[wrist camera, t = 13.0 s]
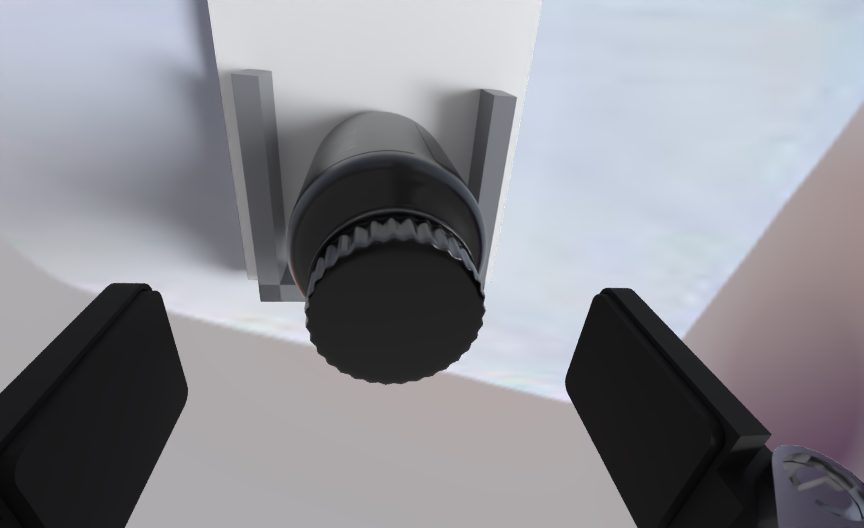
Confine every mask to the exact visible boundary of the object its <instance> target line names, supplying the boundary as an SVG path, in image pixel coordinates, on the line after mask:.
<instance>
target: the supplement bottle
mask: <svg viewBox="0 0 864 528" xmlns="http://www.w3.org/2000/svg"><path fill="white" fill-rule="evenodd" d="M486 253H487V232H486V226H485V221H484V218H483V215H482V212H481V210H480V208H479V206H478V203H477V202H476V199H475V198H474V196H473V194H472V193H471V191H470V189H469V188H468V186H467V185H466V183H465V182H464V180H463V179H462V177H461V176H460V175H459V173H458V172H457V170H456V169H455V167H454V166H453V164H452V163H451V161H450V160H449V158H448V157H447V155H446V154H445V152H444V151H443V149H442V148H441V146H440V145H439V144H438V142H437V141H436V140H435V138H434V137H433V136H432V135H431V134H430V133H429V132H428V131H427V130H426V129H425V128H424V127H422V126H421V125H420V124H418V123H417V122H415V121H413V120H412V119H410V118H407V117H405V116H403V115H400V114H396V113H392V112H384V111H374V112H366V113H362V114H358V115H355V116H353V117H350V118H348V119H346V120H344V121H343V122H341V123H340V124H338V125H337V126H336V127H335V128H333V129H332V130H331V131H330V132H329V133H328V134H327V135H326V137H325V138H324V139H323V141H322V142H321V144H320V146H319V147H318V149H317V151H316V154H315V156H314V158H313V160H312V163H311V165H310V168H309V170H308V173H307V176H306V178H305V181H304V183H303V186H302V188H301V191H300V193H299V196H298V198H297V201H296V204H295V206H294V209H293V212H292V215H291V218H290V221H289V226H288V231H287V238H286V254H287V261H288V265H289V269H290V273H291V275H292V278H293V280H294V282H295V284H296V286H297V288H298V290H299V291H300V293H301V294H302V296H303V297H304V298H305V300H306V303H305V314H306V316H307V317H306V323H305V324H306V328H307V329H308V331H309V332H310V341H311V342H312V343H313V344H314V345H315V346H316V347H317V352H318V353H319V354H320V355H321V356H323V357H325V358H326V361H327V363H328V364H330V365H332V366H335V367H337V369H338V370H339V371H340V372H341V373H345V374H349V375H351V376H352V377H353V378H355V379H364V380H366V381H367V382H369V383H376V382H379V383H382V384H385V385H386V384H392V383H397V384H403V383H406V382H408V381H418V380H420V379H422V378H424V377H430V376H433V375H434V374H435V373H437V372H438V371H442V370H445V369H447V368H448V367H449V365H450V364H452V363H454V362H456V361H458V360H459V359H460V357H461V355H462V354H463V353H465V352H467V351H468V350H469V348H470V346H471V343H472V342H473V341H475V340H476V339H477V336H478V331H479V329H480V328H481V327H482V325H483V321H482V317H483V315H484V313H485V306H484V299H485V294H484V291H483V289H482V287H481V280H480V276H481V273H482V271H483V268H484V264H485V260H486Z"/></svg>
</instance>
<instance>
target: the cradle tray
mask: <svg viewBox="0 0 864 528" xmlns="http://www.w3.org/2000/svg"><path fill="white" fill-rule="evenodd" d="M207 1H208V8H209V14H210V21H211V28H212V35H213V42H214V49H215V56H216V63H217V70H218V76H219V83H220V90H221V97H222V104H223V111H224V118H225V125H226V132H227V138H228V145H229V152H230V159H231V166H232V173H233V180H234V187H235V194H236V200H237V207H238V214H239V221H240V228H241V235H242V242H243V249H244V256H245V262H246V269H247V276H248V280H258V284H259V292H260V300H261V302H306V300H305V298H304V297H303V296H302V294H301V293H300V291H299V290H298V288H297V286H296V284H295V282H294V280H293V278H292V275H291V273H290V269H289V265H288V261H287V254H286V238H287V231H288V226H289V221H290V218H291V215H292V212H293V209H294V206H295V204H296V201H297V198H298V196H299V193H300V191H301V188H302V186H303V183H304V181H305V178H306V176H307V173H308V170H309V168H310V165H311V163H312V160H313V158H314V156H315V154H316V151H317V149H318V147H319V146H320V144H321V142H322V141H323V139H324V138H325V137H326V135H327V134H328V133H329V132H330V131H331V130H332V129H333V128H335V127H336V126H337V125H338V124H340V123H341V122H343V121H344V120H346V119H348V118H350V117H353V116H355V115H358V114H362V113H366V112H374V111H384V112H392V113H396V114H400V115H403V116H405V117H407V118H410V119H412V120H413V121H415V122H417V123H418V124H420V125H421V126H422V127H424V128H425V129H426V130H427V131H428V132H429V133H430V134H431V135H432V136H433V137H434V138H435V140H436V141H437V142H438V144H439V145H440V146H441V148H442V149H443V151H444V152H445V154H446V155H447V157H448V158H449V160H450V161H451V163H452V164H453V166H454V167H455V169H456V170H457V172H458V173H459V175H460V176H461V177H462V179H463V180H464V182H465V183H466V185H467V186H468V188H469V189H470V191H471V193H472V194H473V196H474V198H475V199H476V202H477V203H478V206H479V208H480V210H481V212H482V215H483V218H484V221H485V226H486V232H487V253H486V260H485V264H484V268H483V271H482V273H481V276H480V280H481V287H482V289H483V291H484V285H485V282H491V281H492V276H493V270H494V265H495V259H496V254H497V248H498V243H499V237H500V232H501V226H502V221H503V216H504V210H505V205H506V199H507V194H508V188H509V183H510V177H511V172H512V166H513V161H514V155H515V150H516V145H517V139H518V134H519V128H520V123H521V117H522V112H523V106H524V101H525V95H526V90H527V84H528V79H529V74H530V68H531V63H532V57H533V52H534V46H535V41H536V35H537V30H538V24H539V19H540V13H541V8H542V3H543V0H207Z"/></svg>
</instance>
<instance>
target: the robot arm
mask: <svg viewBox="0 0 864 528" xmlns="http://www.w3.org/2000/svg"><path fill="white" fill-rule="evenodd" d="M565 385H566V390H567V393H568V395H569V397H570V399H571V401H572V402H573V404H574V406H575V408H576V410H577V412H578V414H579V416H580V418H581V420H582V422H583V424H584V425H585V427H586V429H587V431H588V433H589V435H590V437H591V439H592V441H593V443H594V445H595V447H596V449H597V450H598V453H599V454H600V456H601V458H602V460H603V462H604V464H605V466H606V468H607V470H608V472H609V474H610V476H611V478H612V479H613V481H614V483H615V485H616V487H617V489H618V491H619V493H620V495H621V497H622V499H623V501H624V503H625V504H626V506H627V508H628V510H629V512H630V514H631V516H632V518H633V520H634V522H635V524H636V525H637V527H638V528H864V483H863V482H862V481H861V480H860V479H859V478H858V477H857V476H856V475H854V474H853V473H852V472H851V471H849V470H848V469H846V468H845V467H844V466H842V465H841V464H839V463H838V462H836V461H835V460H833V459H831V458H829V457H827V456H825V455H823V454H821V453H819V452H816V451H814V450H811V449H808V448H805V447H802V446H794V445H784V446H779V447H778V448H777V449H776V450H774V451H773V452H771V451H770V450H769V449H768V448H767V447H766V446H765V445H764V444H765V443H766V441H767V440H768V439H769V438H770V436H771V433H770V432H769V431H768V430H767V429H766V428H765V427H764V426H763V425H762V424H761V423H760V422H759V421H758V420H757V419H756V418H755V417H754V416H753V415H752V414H751V413H750V411H748V409H747V408H746V407H745V406H744V405H743V404H742V403H741V402H740V401H739V400H738V399H737V398H736V397H735V396H734V395H733V394H732V393H731V392H730V391H729V390H728V389H727V388H726V387H725V386H724V385H723V383H722V382H721V381H720V380H719V379H718V378H717V377H716V376H715V375H714V374H713V373H712V372H711V371H710V370H709V369H708V368H707V367H706V366H705V365H704V364H703V363H702V361H701V360H700V359H699V358H698V357H697V356H696V355H694V353H693V352H692V351H691V350H690V349H689V348H688V347H687V346H686V345H685V344H684V343H683V342H682V341H681V340H680V339H679V338H678V336H677V335H676V334H675V333H674V332H673V331H672V330H671V329H670V328H669V327H668V326H667V325H666V324H665V323H664V322H663V321H662V320H661V319H660V318H659V317H658V316H657V315H656V314H655V313H654V311H653V310H652V309H651V308H650V307H649V306H648V305H647V304H646V303H645V302H644V301H643V300H642V299H641V298H640V297H639V296H638V295H637V294H636V293H635V292H634V291H633V290H632V289H629V288H605V289H603V290H602V291H601V292H600V294H597V295H596V296H595V297H594V298H593V300H592V303H591V306H590V309H589V312H588V315H587V318H586V320H585V323H584V326H583V329H582V332H581V335H580V338H579V340H578V343H577V346H576V349H575V352H574V355H573V358H572V360H571V363H570V366H569V369H568V372H567V375H566V379H565ZM187 396H188V387H187V383H186V379H185V376H184V373H183V369H182V366H181V362H180V358H179V355H178V351H177V348H176V345H175V341H174V338H173V334H172V331H171V327H170V323H169V320H168V317H167V313H166V310H165V306H164V303H163V299H162V296H161V294H160V293H159V292H158V291H152V288H151V287H150V286H149V285H148V284H145V283H113V284H110V285H109V286H107V287H106V288H105V289H104V290H103V291H102V292H101V293H100V294H99V295H98V296H97V297H96V298H95V299H94V300H93V301H92V302H91V303H90V304H89V305H88V306H87V307H86V308H85V309H84V310H83V311H82V312H81V313H80V314H79V315H78V316H77V317H76V318H75V319H74V320H73V321H72V322H71V323H70V324H69V325H68V326H67V327H66V328H65V329H64V330H63V331H62V332H61V333H60V334H59V335H58V336H57V337H56V338H55V339H54V340H53V341H52V342H51V343H50V344H49V345H48V346H47V347H46V348H45V349H44V350H43V351H42V352H41V353H40V354H39V355H38V356H37V357H36V358H35V359H34V360H33V361H32V362H31V363H30V364H29V365H28V366H27V367H26V368H25V369H24V370H23V371H22V372H21V373H20V375H18V376H17V377H16V378H15V379H14V380H13V381H12V382H11V383H10V384H9V385H8V386H7V387H6V388H5V389H4V390H3V391H2V392H1V393H0V528H125V526H126V524H127V522H128V520H129V518H130V516H131V514H132V512H133V510H134V508H135V505H136V504H137V502H138V499H139V497H140V495H141V493H142V491H143V489H144V487H145V485H146V483H147V481H148V479H149V477H150V475H151V473H152V471H153V469H154V467H155V465H156V463H157V461H158V459H159V457H160V455H161V453H162V450H163V448H164V446H165V444H166V442H167V440H168V438H169V436H170V434H171V432H172V430H173V428H174V426H175V424H176V422H177V420H178V418H179V416H180V414H181V412H182V410H183V408H184V406H185V403H186V400H187Z"/></svg>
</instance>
